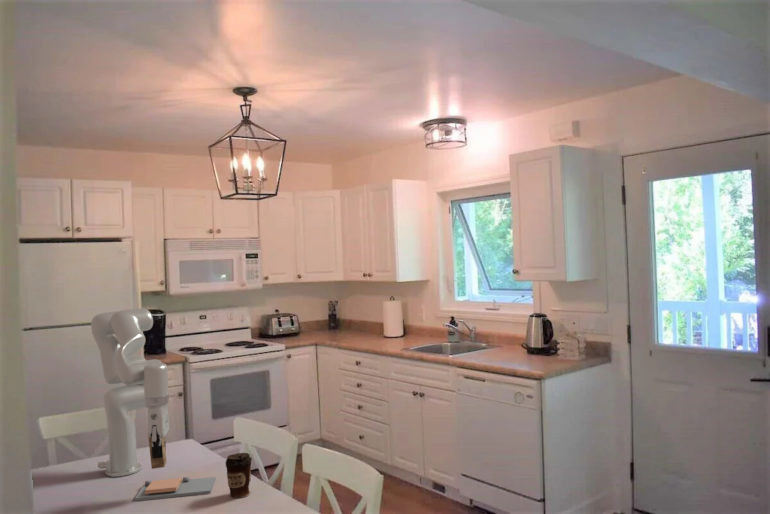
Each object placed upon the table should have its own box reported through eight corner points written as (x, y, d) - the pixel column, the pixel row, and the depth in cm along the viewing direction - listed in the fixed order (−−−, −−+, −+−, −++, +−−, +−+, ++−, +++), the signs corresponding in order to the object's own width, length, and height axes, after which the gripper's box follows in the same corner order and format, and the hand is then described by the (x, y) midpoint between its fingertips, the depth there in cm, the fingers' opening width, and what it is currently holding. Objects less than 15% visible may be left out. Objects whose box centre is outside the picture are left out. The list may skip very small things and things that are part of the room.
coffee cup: (246, 500, 197) (244, 460, 197) (222, 500, 199) (220, 459, 199) (257, 490, 206) (255, 451, 206) (234, 489, 208) (232, 451, 207)
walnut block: (151, 468, 203) (147, 433, 203) (154, 464, 207) (150, 429, 207) (164, 467, 204) (160, 431, 204) (166, 462, 208) (163, 427, 208)
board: (135, 501, 202) (134, 493, 202) (144, 486, 215) (144, 479, 214) (210, 493, 205) (210, 486, 205) (215, 479, 218) (215, 472, 218)
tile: (145, 494, 203) (144, 490, 203) (152, 484, 213) (152, 481, 213) (176, 491, 204) (176, 487, 204) (182, 481, 214) (182, 478, 214)
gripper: (163, 406, 197) (165, 463, 198) (173, 394, 214) (175, 446, 214) (138, 408, 196) (141, 465, 197) (151, 395, 213) (153, 448, 213)
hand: (159, 454), depth 206 cm, fingers closed on walnut block, 4 cm apart
